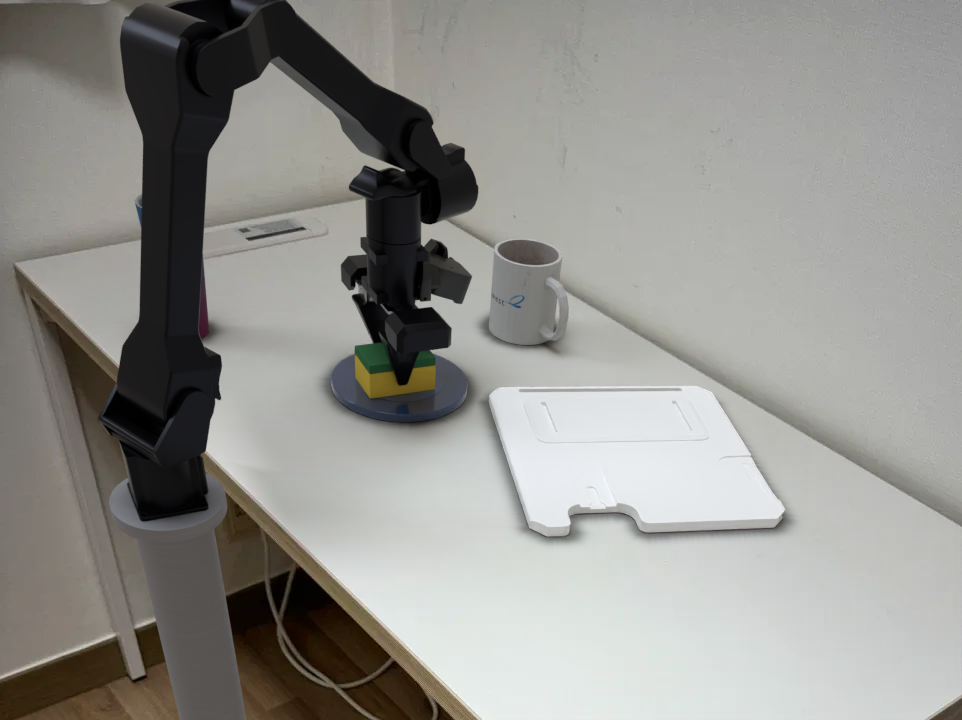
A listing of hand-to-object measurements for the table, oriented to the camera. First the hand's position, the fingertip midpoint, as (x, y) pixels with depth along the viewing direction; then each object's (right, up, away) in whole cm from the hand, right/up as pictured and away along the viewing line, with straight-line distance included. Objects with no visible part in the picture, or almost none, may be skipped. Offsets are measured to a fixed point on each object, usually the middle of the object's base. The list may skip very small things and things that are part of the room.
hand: (394, 373), depth 114 cm
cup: (-26, +8, +7) cm, 28 cm away
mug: (+15, +10, +15) cm, 24 cm away
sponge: (0, -1, +1) cm, 1 cm away
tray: (+27, -11, -3) cm, 29 cm away
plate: (0, -1, +3) cm, 3 cm away
